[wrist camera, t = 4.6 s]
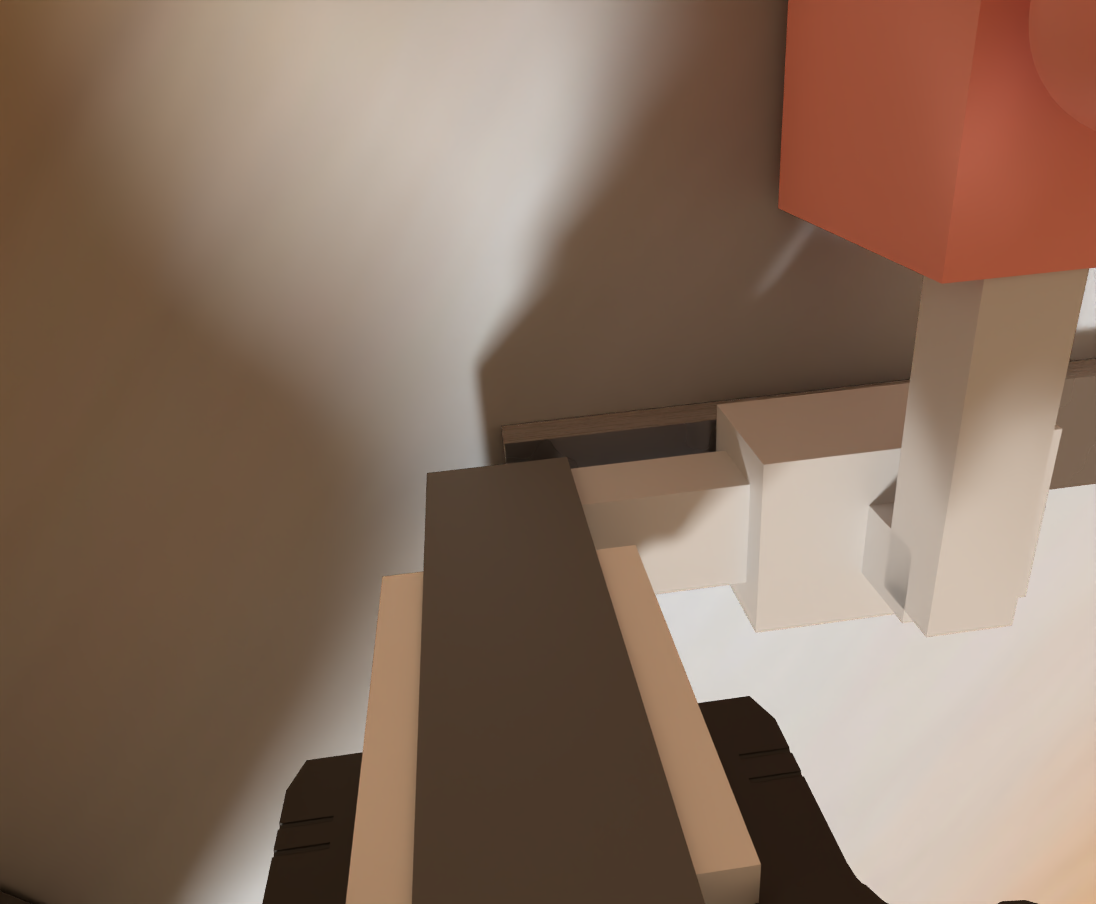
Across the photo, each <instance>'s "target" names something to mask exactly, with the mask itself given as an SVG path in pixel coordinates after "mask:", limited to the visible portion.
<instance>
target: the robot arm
mask: <svg viewBox="0 0 1096 904" xmlns="http://www.w3.org/2000/svg"><path fill="white" fill-rule="evenodd" d="M596 552H597V556H598V559H599V562H600V565H601V568H602V572H603V575H604V578H605V581H606V585H607V588H608V591H609V594H610V597H611V601H612V604H613V607H614V610H615V614H616V617H617V620H618V623H619V627H620V630H621V633H622V636H623V639H624V643H625V646H626V649H627V652H628V656H629V659H630V662H631V665H632V669H633V672H634V675H635V678H636V681H637V685H638V688H639V691H640V694H641V698H642V701H643V704H644V707H645V711H646V714H647V717H648V720H649V723H650V727H651V730H652V733H653V736H654V740H655V743H656V746H657V749H658V753H659V756H660V759H661V762H662V765H663V769H664V772H665V775H666V778H667V782H668V785H669V788H670V791H671V795H672V798H673V801H674V804H675V807H676V811H677V814H678V817H679V820H680V824H681V827H682V830H683V833H684V837H685V840H686V843H687V846H688V849H689V853H690V856H691V859H692V862H693V866H694V869H695V872H696V875H697V879H698V882H699V885H700V888H701V891H702V895H703V898H704V901H705V904H888V903H886V902H884V901H883V900H882V899H880V898H879V897H878V896H877V895H876V894H875V893H874V892H873V891H872V890H871V889H870V888H868V887H867V886H866V885H864V884H862V883H861V882H860V881H859V880H858V879H857V878H856V876H855V875H854V873H853V872H852V870H851V868H850V867H849V865H848V864H847V862H846V860H845V858H844V856H843V854H842V852H841V850H840V848H839V846H838V844H837V842H836V840H835V838H834V836H833V834H832V832H831V830H830V828H829V826H828V824H827V822H826V820H825V818H824V816H823V814H822V812H821V810H820V808H819V806H818V804H817V802H816V800H815V798H814V796H813V794H812V792H811V790H810V788H809V786H808V784H807V782H806V780H805V778H804V776H803V777H802V775H801V770H800V768H799V766H798V764H797V762H796V760H795V758H794V756H793V754H792V753H790V750H789V746H788V744H787V742H786V740H785V738H784V736H783V734H782V732H781V730H780V728H779V726H778V724H777V722H776V720H775V718H773V717H772V716H771V715H770V714H769V713H768V712H767V711H766V710H764V709H763V708H762V707H761V706H760V705H759V704H758V703H757V702H755V701H754V700H753V699H752V698H751V697H750V696H746V697H739V698H732V699H725V700H718V701H710V702H703V703H697V700H696V698H695V695H694V693H693V690H692V687H691V685H690V682H689V680H688V677H687V675H686V672H685V670H684V667H683V664H682V662H681V659H680V657H679V654H678V652H677V649H676V647H675V644H674V642H673V639H672V636H671V634H670V631H669V629H668V626H667V624H666V621H665V619H664V616H663V614H662V611H661V608H660V606H659V603H658V601H657V598H656V596H655V593H654V591H653V588H652V586H651V583H650V580H649V578H648V575H647V573H646V570H645V568H644V565H643V563H642V560H641V558H640V555H639V552H638V550H637V547H636V545H630V546H623V547H615V548H607V549H599V550H596ZM422 600H423V572H416V573H408V574H400V575H392V576H384V577H382V586H381V595H380V604H379V613H378V621H377V630H376V639H375V648H374V657H373V666H372V675H371V684H370V692H369V701H368V710H367V719H366V728H365V737H364V746H363V753H355V754H348V755H341V756H334V757H327V758H320V759H313V760H307V761H306V762H305V764H304V765H303V766H302V768H301V769H300V771H299V772H298V774H297V775H296V777H295V778H294V780H293V781H292V783H291V784H290V786H289V787H288V789H287V790H286V794H285V799H284V804H283V808H282V813H281V818H280V823H279V824H280V829H279V830H278V832H277V837H276V842H275V846H274V857H272V861H271V865H270V870H269V875H268V880H267V884H266V889H265V894H264V899H263V903H262V904H412V881H413V853H414V824H415V796H416V768H417V740H418V712H419V684H420V656H421V628H422ZM0 904H30V903H28V902H26V901H23V900H21V899H18V898H16V897H14V896H11V895H9V894H6V893H3V892H0ZM998 904H1037V903H1033V902H1030V901H1026V900H1020V901H1002V902H1000V903H998Z"/></svg>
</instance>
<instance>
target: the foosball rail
mask: <svg viewBox="0 0 1096 904" xmlns="http://www.w3.org/2000/svg"><path fill="white" fill-rule="evenodd" d="M903 383H910V380H901V381H892V382H883V383H875V384H866V385H857V386H848V387H840V388H831V389H822V390H813V391H804V392H796V393H787V394H778V395H769V396H761V397H752V398H743V399H734V400H725V401H717V402H708V403H699V404H690V405H681V406H673V407H664V408H655V409H646V410H638V411H629V412H620V413H611V414H602V415H594V416H585V417H576V418H567V419H558V420H550V421H541V422H532V423H523V424H515V425H506V426H502V436H503V445H504V454H505V464H509V463H518V462H527V461H535V460H544V459H552V458H561V457H567V459H568V462H569V465H570V468H571V469H573V468H582V467H590V466H599V465H607V464H616V463H624V462H632V461H641V460H649V459H658V458H666V457H675V456H683V455H692V454H700V453H709V452H716V424H717V405H719V404H728V403H737V402H745V401H754V400H763V399H772V398H781V397H789V396H798V395H807V394H816V393H824V392H833V391H842V390H851V389H859V388H868V387H877V386H886V385H894V384H903ZM1055 425H1057V426H1058V427H1060V428H1062V433H1061V438H1060V442H1059V447H1058V451H1057V456H1056V460H1055V465H1054V469H1053V474H1052V478H1051V483H1050V487H1049V489H1057V488H1065V487H1073V486H1081V485H1089V484H1096V358H1094V359H1086V360H1077V361H1069V364H1068V369H1067V373H1066V378H1065V382H1064V387H1063V392H1062V396H1061V401H1060V405H1059V410H1058V415H1057V419H1056V424H1055Z"/></svg>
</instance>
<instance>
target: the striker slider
mask: <svg viewBox="0 0 1096 904" xmlns="http://www.w3.org/2000/svg"><path fill="white" fill-rule="evenodd" d="M778 208H779V209H781V210H783V211H785V212H787V213H790V214H792V215H794V216H796V217H798V218H800V219H803V220H805V221H807V222H809V223H811V224H813V225H816V226H818V227H820V228H822V229H824V230H826V231H829V232H831V233H833V234H835V235H837V236H839V237H842V238H844V239H846V240H848V241H850V242H852V243H855V244H857V245H859V246H861V247H863V248H865V249H868V250H870V251H872V252H874V253H876V254H878V255H881V256H883V257H885V258H887V259H889V260H891V261H894V262H896V263H898V264H900V265H902V266H904V267H907V268H909V269H911V270H913V271H915V272H917V273H920V274H922V275H923V283H922V291H921V299H920V307H919V314H918V322H917V330H916V338H915V346H914V353H913V361H912V369H911V377H910V383H903V384H894V385H886V386H877V387H868V388H859V389H851V390H842V391H833V392H824V393H816V394H807V395H798V396H789V397H781V398H772V399H763V400H754V401H745V402H737V403H728V404H719V405H717V424H716V452H709V453H700V454H692V455H683V456H675V457H666V458H658V459H649V460H641V461H632V462H624V463H616V464H607V465H599V466H590V467H582V468H573V469H571V468H570V465H569V462H568V459H567V457H561V458H552V459H544V460H535V461H527V462H518V463H509V464H501V465H492V466H484V467H475V468H467V469H458V470H450V471H441V472H433V473H427V487H426V515H425V543H424V571H423V600H422V628H421V656H420V684H419V712H418V740H417V768H416V796H415V824H414V853H413V881H412V904H705V901H704V898H703V895H702V891H701V888H700V885H699V882H698V879H697V875H696V872H695V869H694V866H693V862H692V859H691V856H690V853H689V849H688V846H687V843H686V840H685V837H684V833H683V830H682V827H681V824H680V820H679V817H678V814H677V811H676V807H675V804H674V801H673V798H672V795H671V791H670V788H669V785H668V782H667V778H666V775H665V772H664V769H663V765H662V762H661V759H660V756H659V753H658V749H657V746H656V743H655V740H654V736H653V733H652V730H651V727H650V723H649V720H648V717H647V714H646V711H645V707H644V704H643V701H642V698H641V694H640V691H639V688H638V685H637V681H636V678H635V675H634V672H633V669H632V665H631V662H630V659H629V656H628V652H627V649H626V646H625V643H624V639H623V636H622V633H621V630H620V627H619V623H618V620H617V617H616V614H615V610H614V607H613V604H612V601H611V597H610V594H609V591H608V588H607V585H606V581H605V578H604V575H603V572H602V568H601V565H600V562H599V559H598V556H597V552H596V550H599V549H607V548H615V547H623V546H630V545H636V547H637V550H638V552H639V555H640V558H641V560H642V563H643V565H644V568H645V570H646V573H647V575H648V578H649V580H650V583H651V586H652V588H653V591H654V593H655V594H662V593H670V592H678V591H685V590H693V589H701V588H709V587H716V586H724V585H730V586H731V588H732V590H733V592H734V593H735V595H736V597H737V599H738V601H739V603H740V605H741V606H742V608H743V610H744V612H745V614H746V616H747V618H748V619H749V621H750V623H751V625H752V627H753V629H754V630H755V632H756V633H758V632H765V631H773V630H780V629H788V628H795V627H803V626H810V625H817V624H825V623H832V622H840V621H847V620H854V619H862V618H869V617H877V616H884V615H892V614H895V615H896V616H897V617H898V618H899V620H900V621H901V622H902V623H907V622H914V623H915V624H916V625H917V626H918V628H919V629H920V630H921V631H922V632H923V634H924V635H925V636H926V637H932V636H939V635H947V634H954V633H961V632H968V631H976V630H983V629H990V628H998V627H1005V626H1012V623H1013V618H1014V613H1015V609H1016V604H1017V599H1018V597H1025V596H1026V591H1027V587H1028V582H1029V578H1030V573H1031V569H1032V564H1033V560H1034V555H1035V551H1036V546H1037V542H1038V537H1039V532H1040V528H1041V523H1042V519H1043V514H1044V510H1045V505H1046V501H1047V496H1048V492H1049V487H1050V483H1051V478H1052V474H1053V469H1054V465H1055V460H1056V456H1057V451H1058V447H1059V442H1060V438H1061V433H1062V428H1060V427H1058V426H1057V425H1055V424H1056V419H1057V415H1058V410H1059V405H1060V401H1061V396H1062V392H1063V387H1064V382H1065V378H1066V373H1067V369H1068V364H1069V359H1070V355H1071V350H1072V345H1073V341H1074V336H1075V332H1076V327H1077V322H1078V318H1079V313H1080V308H1081V304H1082V299H1083V295H1084V290H1085V285H1086V281H1087V276H1088V272H1089V268H1096V0H788V15H787V36H786V57H785V77H784V98H783V119H782V139H781V160H780V181H779V201H778Z"/></svg>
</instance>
